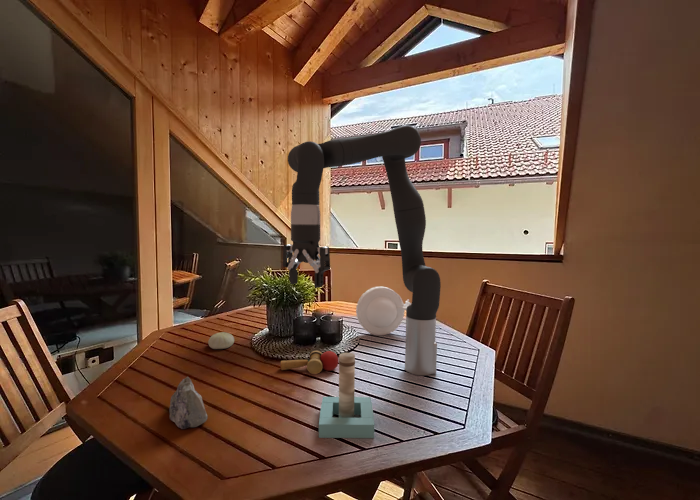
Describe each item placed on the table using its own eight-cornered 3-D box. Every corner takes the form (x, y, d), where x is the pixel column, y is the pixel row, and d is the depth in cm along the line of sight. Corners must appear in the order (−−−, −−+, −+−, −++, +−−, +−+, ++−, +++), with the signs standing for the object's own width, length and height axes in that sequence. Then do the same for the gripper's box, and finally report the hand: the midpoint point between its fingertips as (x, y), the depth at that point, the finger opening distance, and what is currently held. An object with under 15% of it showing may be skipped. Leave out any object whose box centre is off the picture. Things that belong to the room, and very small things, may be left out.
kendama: (280, 380, 108) (339, 372, 108) (277, 359, 108) (336, 351, 109) (284, 374, 115) (339, 366, 116) (282, 354, 116) (337, 346, 116)
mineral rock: (177, 402, 91) (176, 364, 91) (220, 401, 92) (219, 363, 91) (153, 431, 79) (152, 387, 78) (203, 430, 79) (202, 386, 79)
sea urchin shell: (241, 338, 136) (230, 327, 130) (230, 357, 131) (219, 347, 126) (222, 335, 139) (211, 324, 134) (212, 353, 135) (200, 343, 129)
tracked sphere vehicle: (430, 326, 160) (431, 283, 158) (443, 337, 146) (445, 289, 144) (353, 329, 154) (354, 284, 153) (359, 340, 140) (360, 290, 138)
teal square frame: (370, 408, 89) (371, 397, 89) (374, 438, 77) (374, 424, 77) (322, 408, 89) (322, 396, 89) (318, 437, 77) (318, 424, 77)
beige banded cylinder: (351, 416, 85) (352, 351, 84) (356, 425, 82) (357, 357, 81) (336, 419, 84) (337, 353, 83) (341, 427, 81) (341, 359, 79)
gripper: (336, 223, 90) (336, 286, 92) (295, 222, 98) (295, 280, 100) (317, 223, 84) (317, 290, 86) (275, 222, 92) (275, 284, 94)
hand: (305, 285), depth 93 cm, fingers open, 8 cm apart
